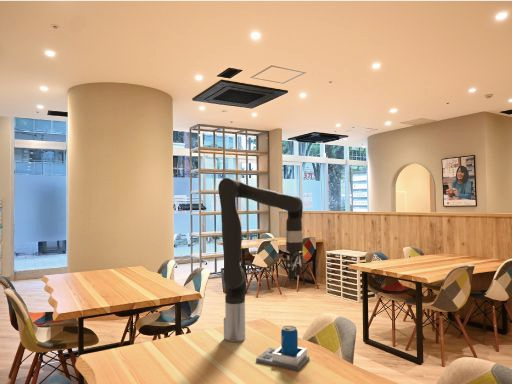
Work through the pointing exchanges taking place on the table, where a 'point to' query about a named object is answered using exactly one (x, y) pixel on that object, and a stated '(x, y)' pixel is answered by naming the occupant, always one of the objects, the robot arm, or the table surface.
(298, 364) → the grey and white device
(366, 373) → the table surface
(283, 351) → the beverage can
